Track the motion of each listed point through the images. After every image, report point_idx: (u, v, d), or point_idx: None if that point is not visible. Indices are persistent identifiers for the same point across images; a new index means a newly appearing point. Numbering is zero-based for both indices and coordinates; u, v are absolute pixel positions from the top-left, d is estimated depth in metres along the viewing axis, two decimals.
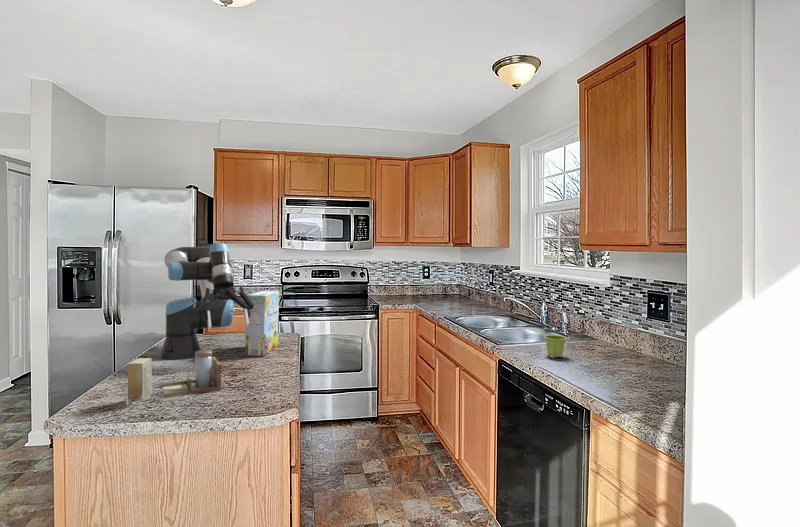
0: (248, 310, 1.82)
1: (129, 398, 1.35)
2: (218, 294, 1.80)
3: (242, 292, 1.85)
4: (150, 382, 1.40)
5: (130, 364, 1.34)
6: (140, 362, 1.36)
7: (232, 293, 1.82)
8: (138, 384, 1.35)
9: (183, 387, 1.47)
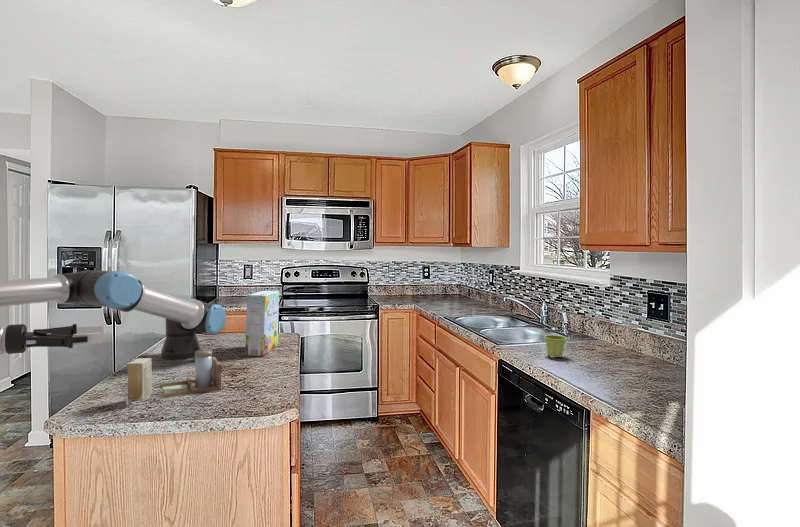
0: (75, 342, 1.23)
1: (129, 398, 1.35)
2: None
3: None
4: (150, 382, 1.40)
5: (130, 364, 1.34)
6: (140, 362, 1.36)
7: None
8: (138, 384, 1.35)
9: (183, 387, 1.47)
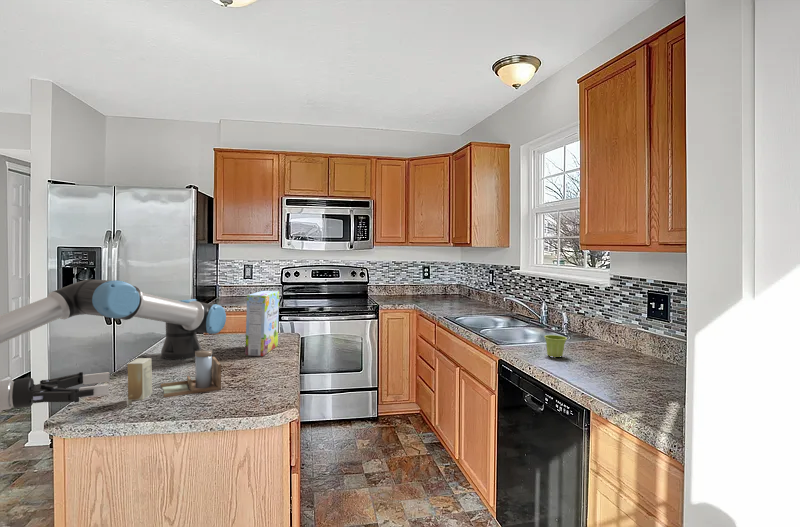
0: None
1: (129, 398, 1.35)
2: None
3: None
4: (150, 382, 1.40)
5: (130, 364, 1.34)
6: (140, 362, 1.36)
7: None
8: (138, 384, 1.35)
9: (183, 387, 1.47)
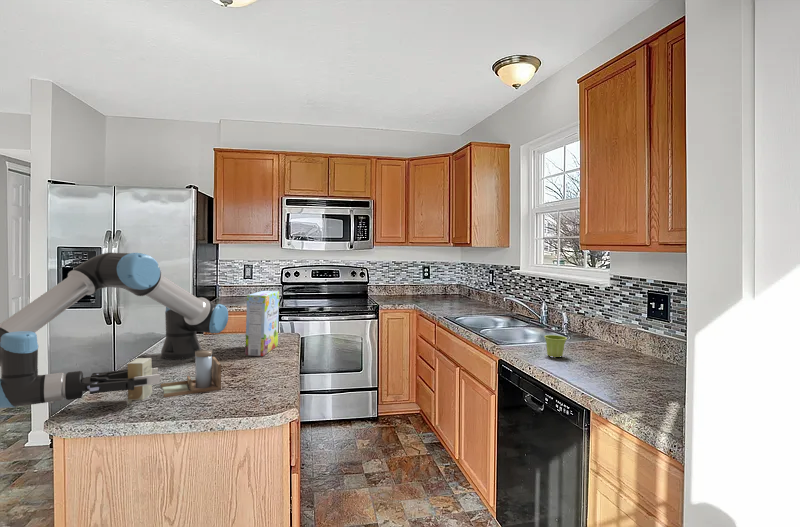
0: None
1: (129, 398, 1.35)
2: None
3: None
4: None
5: (130, 364, 1.34)
6: (140, 361, 1.36)
7: None
8: None
9: (183, 387, 1.47)
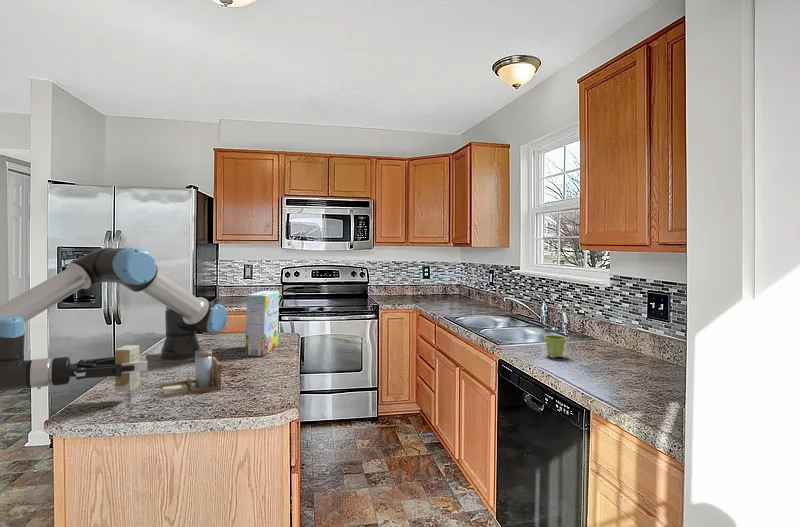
0: None
1: (116, 384, 1.35)
2: None
3: None
4: None
5: (117, 350, 1.34)
6: (128, 348, 1.36)
7: None
8: None
9: (183, 387, 1.47)
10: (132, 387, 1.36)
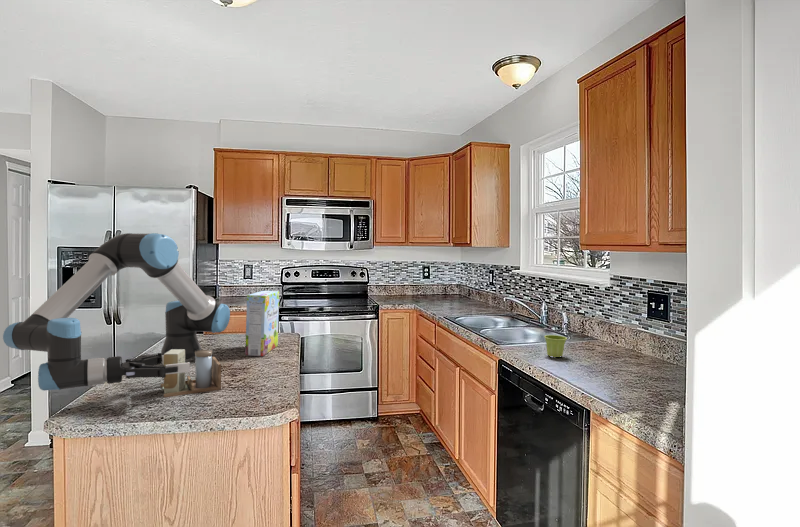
0: None
1: (165, 387, 1.41)
2: None
3: None
4: (184, 372, 1.46)
5: (166, 354, 1.40)
6: (175, 352, 1.42)
7: None
8: (174, 374, 1.41)
9: None
10: (179, 389, 1.43)
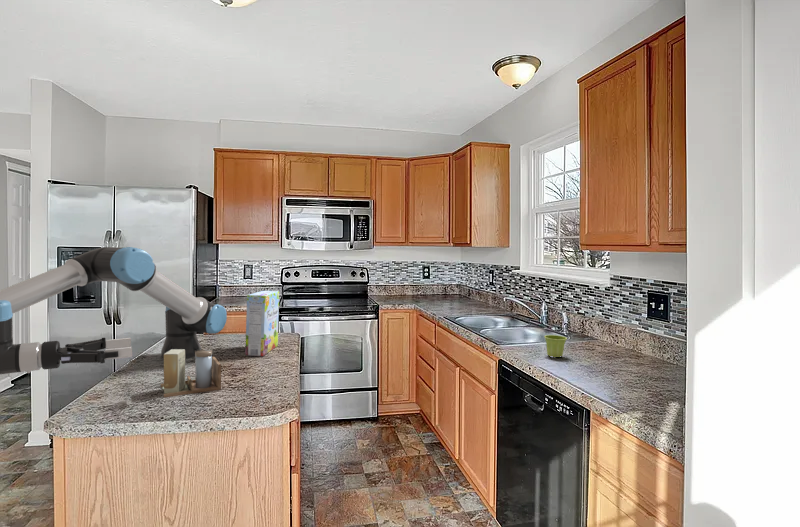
0: None
1: (165, 387, 1.41)
2: None
3: None
4: (184, 372, 1.46)
5: (166, 354, 1.40)
6: (175, 352, 1.42)
7: None
8: (174, 374, 1.41)
9: None
10: (179, 389, 1.43)
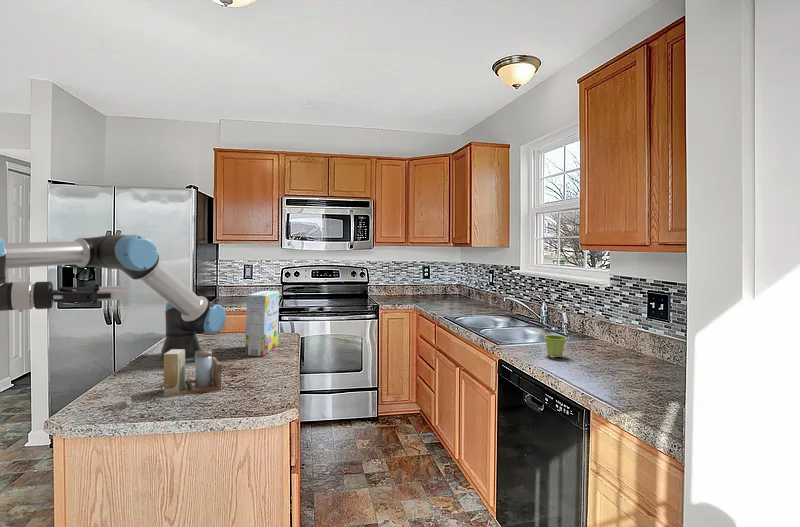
0: (99, 298, 1.29)
1: (165, 387, 1.41)
2: None
3: None
4: (184, 372, 1.46)
5: (166, 354, 1.40)
6: (175, 352, 1.42)
7: None
8: (174, 374, 1.41)
9: None
10: (179, 389, 1.43)
